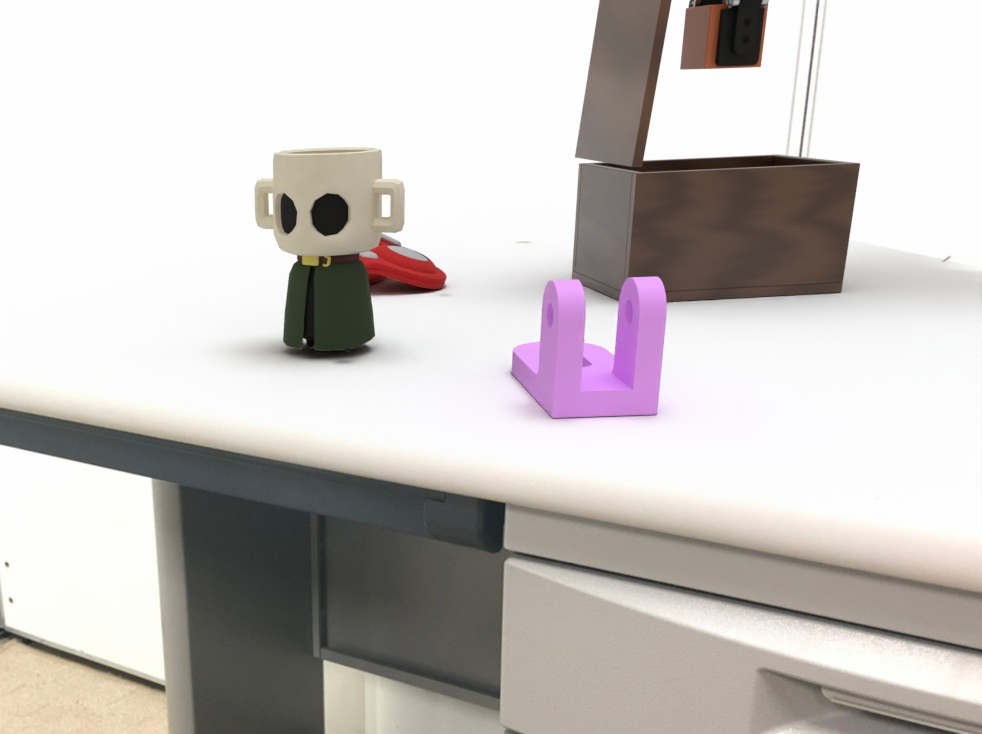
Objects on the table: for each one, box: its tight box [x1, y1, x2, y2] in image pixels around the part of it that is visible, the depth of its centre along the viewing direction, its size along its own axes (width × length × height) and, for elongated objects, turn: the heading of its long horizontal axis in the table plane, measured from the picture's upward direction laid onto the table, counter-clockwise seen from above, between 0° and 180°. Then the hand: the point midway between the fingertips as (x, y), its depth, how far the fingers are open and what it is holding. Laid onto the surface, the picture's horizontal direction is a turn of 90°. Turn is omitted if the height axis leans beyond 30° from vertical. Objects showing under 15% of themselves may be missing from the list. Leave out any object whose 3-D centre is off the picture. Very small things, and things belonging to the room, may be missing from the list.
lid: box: [574, 0, 672, 167], centre depth 92 cm, size 18×13×6 cm
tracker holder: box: [359, 233, 448, 290], centre depth 106 cm, size 12×4×10 cm
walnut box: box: [571, 153, 861, 303], centre depth 98 cm, size 18×13×10 cm
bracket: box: [511, 277, 668, 419], centre depth 69 cm, size 13×6×7 cm, turn 0°
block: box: [679, 3, 769, 71], centre depth 93 cm, size 4×4×4 cm
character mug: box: [253, 146, 406, 352], centre depth 80 cm, size 11×7×13 cm, turn 60°
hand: (720, 63), depth 94 cm, fingers closed on block, 4 cm apart
